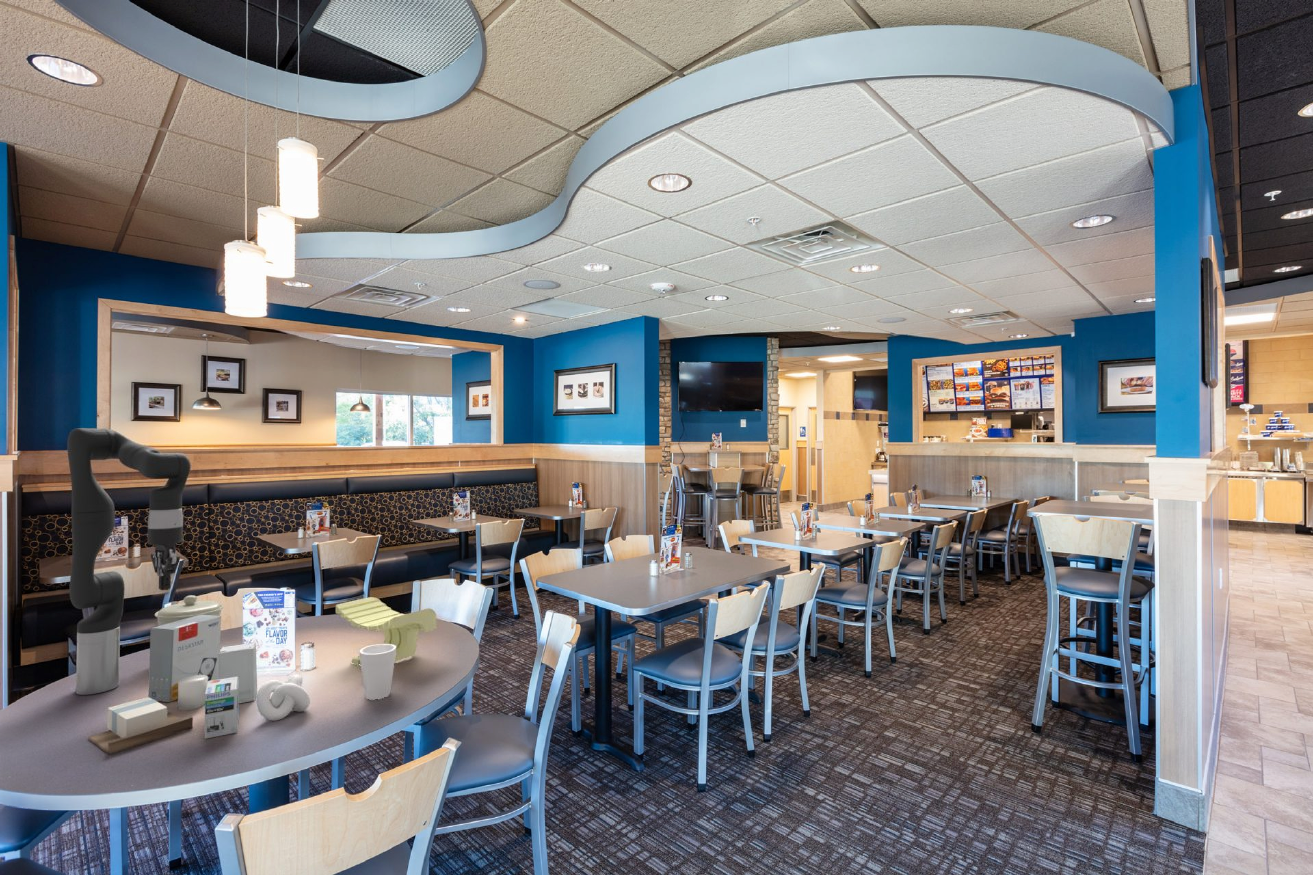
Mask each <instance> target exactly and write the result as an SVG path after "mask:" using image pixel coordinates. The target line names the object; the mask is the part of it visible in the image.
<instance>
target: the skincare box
mask: <svg viewBox="0 0 1313 875" xmlns="http://www.w3.org/2000/svg"><path fill="white" fill-rule="evenodd" d="M256 642H257V641H256ZM256 642H249V643H243V644H237V645H230V646H222V647H221V648H220V652H219V654H218V663H219V679H225V678H232V677H239V704H242V703H249V702H255V699H256V698H257V694H258V673H257V671H258V669H257V667H258V666H257V645H256V644H257V643H256Z"/></svg>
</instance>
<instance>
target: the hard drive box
mask: <svg viewBox="0 0 1313 875" xmlns="http://www.w3.org/2000/svg"><path fill="white" fill-rule="evenodd" d="M221 626H222V615H220V616H214V615H198V616H194V617H190V618H187V619H183V620H179V621H176V622H172V623H168V624H164V625H161V626H158V625H157V626H154V627H151V628H150V632H149V633H150V641H149V645H150V646H149V673H148V676H149V677H148V695H147V697H149V698H151V699H154V700H155V701H157V702H165V703H171V702H173V701H176V700H178V681H179V680H181V679H183V678H186V677H190V676H195V675H206V676H208V681H211V680H219V663H218V654H219V652H220V650H221V631H222V630H221V628H222V627H221Z"/></svg>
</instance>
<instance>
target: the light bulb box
mask: <svg viewBox="0 0 1313 875" xmlns="http://www.w3.org/2000/svg"><path fill="white" fill-rule="evenodd" d="M239 704H240V703H239V677H232V678H225V679H219V680H211V681H208V683H207V687H206V692H205V705H204V740H206V739H211V738H216V737H220V736H225V735H231V734H235V733H238V727H239V726H238V725H239Z"/></svg>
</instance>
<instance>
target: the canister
mask: <svg viewBox="0 0 1313 875" xmlns="http://www.w3.org/2000/svg"><path fill="white" fill-rule="evenodd" d="M223 609H224V604H222V603H220V602H219V601H218V602H217V601H216V600H215V601H214V600H198V598H197V596H196V595H187V596H185V597H184V598H183V602H179V603H174V604H172V605H167V606H165V607H163V608H160V610H158V611H156V612H155V613H154V616H155V618H157V626H161V625H164V624H168V623H172V622H176V621H179V620H183V619H187V618H190V617H194V616H198V615H214V616H221V612H222V610H223Z"/></svg>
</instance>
